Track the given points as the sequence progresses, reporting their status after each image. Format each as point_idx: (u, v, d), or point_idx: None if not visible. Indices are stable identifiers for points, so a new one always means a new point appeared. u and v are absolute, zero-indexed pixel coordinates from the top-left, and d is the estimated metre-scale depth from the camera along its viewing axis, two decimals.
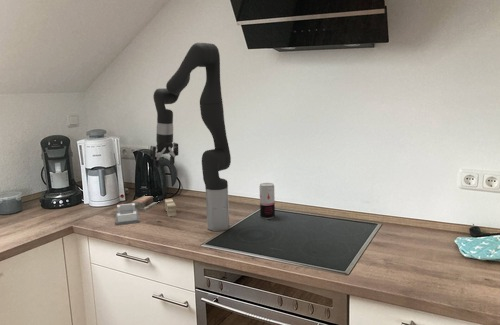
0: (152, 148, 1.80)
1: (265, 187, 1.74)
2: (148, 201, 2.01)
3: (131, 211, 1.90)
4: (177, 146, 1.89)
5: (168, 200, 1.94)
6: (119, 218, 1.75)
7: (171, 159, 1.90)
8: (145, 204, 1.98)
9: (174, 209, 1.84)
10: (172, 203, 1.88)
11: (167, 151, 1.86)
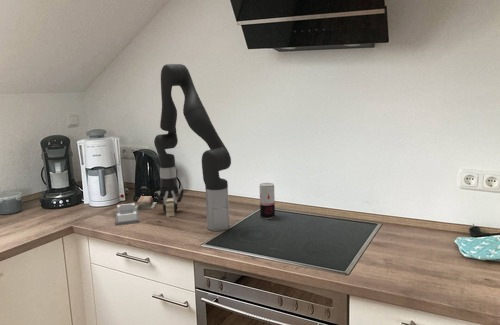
0: (155, 194, 1.87)
1: (265, 187, 1.74)
2: (151, 200, 2.02)
3: (131, 211, 1.90)
4: (182, 193, 1.90)
5: (169, 199, 1.94)
6: (119, 218, 1.75)
7: (174, 205, 1.91)
8: (150, 203, 1.99)
9: (172, 209, 1.84)
10: (171, 203, 1.88)
11: (170, 194, 1.88)
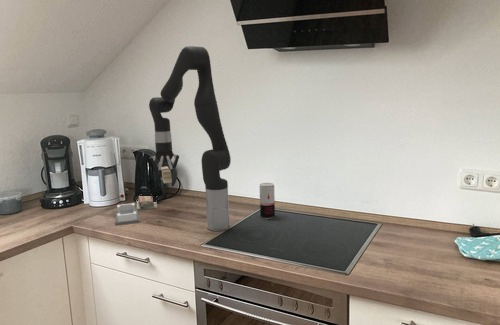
0: (150, 159, 1.84)
1: (265, 187, 1.74)
2: None
3: (131, 211, 1.90)
4: (177, 158, 1.87)
5: (163, 167, 1.90)
6: (119, 218, 1.75)
7: None
8: None
9: (169, 175, 1.81)
10: (167, 170, 1.85)
11: (165, 159, 1.85)
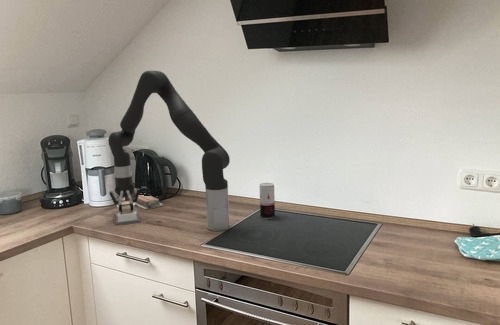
0: None
1: (265, 187, 1.74)
2: None
3: (131, 211, 1.90)
4: (138, 192, 1.83)
5: (125, 202, 1.87)
6: (119, 218, 1.75)
7: (130, 205, 1.84)
8: None
9: (129, 212, 1.78)
10: (127, 206, 1.82)
11: (125, 194, 1.82)
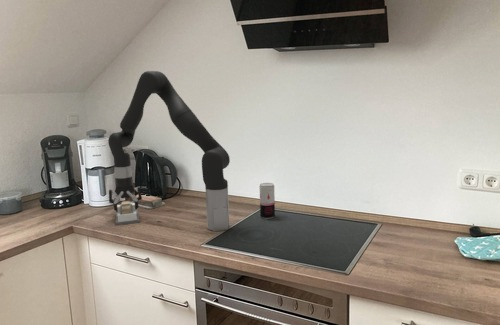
0: (109, 192, 1.80)
1: (265, 187, 1.74)
2: None
3: (131, 211, 1.90)
4: (139, 190, 1.83)
5: (125, 202, 1.87)
6: (119, 218, 1.75)
7: None
8: None
9: (129, 212, 1.78)
10: (127, 206, 1.82)
11: (127, 195, 1.82)
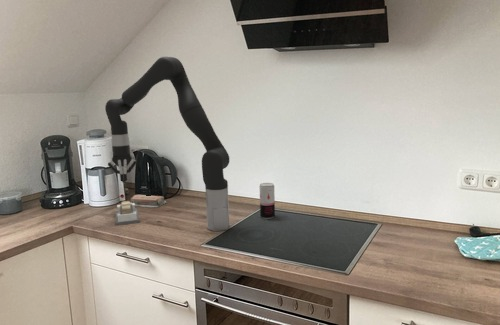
0: (108, 165, 1.78)
1: (265, 187, 1.74)
2: None
3: (131, 211, 1.90)
4: (134, 164, 1.81)
5: (125, 202, 1.87)
6: (119, 218, 1.75)
7: None
8: None
9: (129, 212, 1.78)
10: (127, 206, 1.82)
11: (121, 162, 1.79)
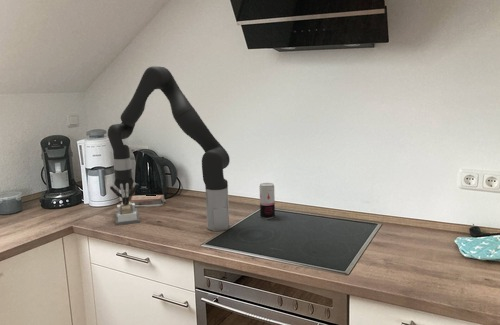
0: (111, 189, 1.80)
1: (265, 187, 1.74)
2: None
3: (131, 211, 1.90)
4: (136, 187, 1.83)
5: None
6: (119, 218, 1.75)
7: None
8: None
9: (128, 212, 1.78)
10: (127, 206, 1.82)
11: (123, 186, 1.81)
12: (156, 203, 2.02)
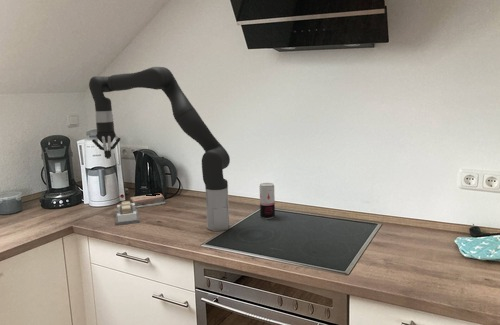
0: (93, 142, 1.82)
1: (265, 187, 1.74)
2: None
3: (131, 211, 1.90)
4: (118, 140, 1.85)
5: (125, 202, 1.87)
6: (119, 218, 1.75)
7: None
8: None
9: (129, 212, 1.78)
10: (127, 206, 1.82)
11: (105, 139, 1.83)
12: (158, 201, 2.05)
